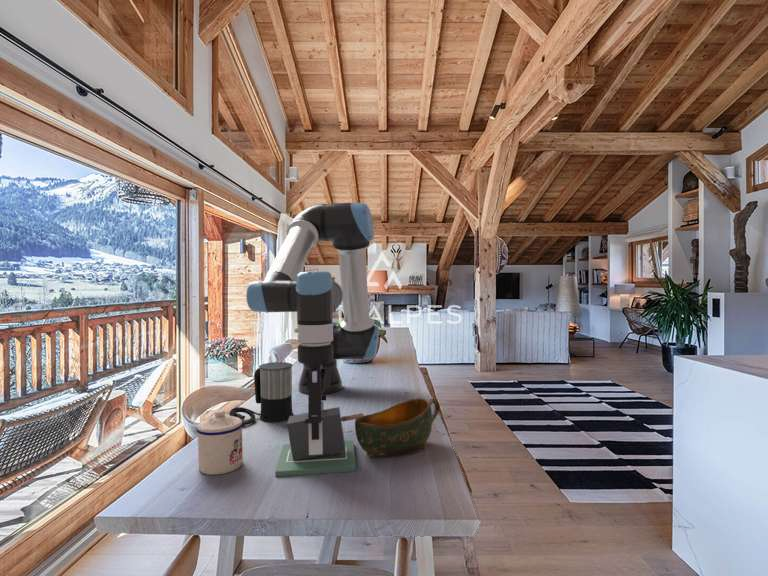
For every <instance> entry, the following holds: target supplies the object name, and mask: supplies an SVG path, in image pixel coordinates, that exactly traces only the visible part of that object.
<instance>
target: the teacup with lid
mask: <svg viewBox="0 0 768 576" xmlns="http://www.w3.org/2000/svg"><path fill="white" fill-rule="evenodd" d="M243 426H244V425H243V422H242V420H241V419H240V418H238V417H234V416H230V415H229V414H226V411H225V410H223V409H219V410H216V411H215V412H214V415H213V416H211V417H209V418H207V419H205V420H202V421H200V423H198V425H197V427H196V432H197V445H198V446H197V447H198V448H197V449H198V450H197V452H198V470H199V472H200V473H202V474H205V475H209V476H210V475H212V476H213V475H214V476H217V475H223V474H228V473H230V472H234V471H236V470H237V469H239V468H240V467H241V466H242V465H243V460H244V459H243V457H244V456H243V453H244V452H243Z"/></svg>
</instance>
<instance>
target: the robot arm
mask: <svg viewBox="0 0 768 576" xmlns="http://www.w3.org/2000/svg"><path fill="white" fill-rule="evenodd" d="M374 237H375V232H374V222H373V217H372V213H371V209H370V207H369V206H368V205H367V204H366V203H363V202H338V203H337V202H336V203H317V204H314V205H311V206H309V207H307V208H305V209H303V210H302V211H300V212H299V213H298V214H296V216H294V218H293V219H292V220H291V221H290V222H289V224H288V226H287V229H286V238H285V240H284V241H283V243H282V245H281V247H280V248H279V251H278V253H277V255H276V256H275V258H274V260H273V262H272V265H271V266H270V268H269V270H268V272H267V273H266V276H265V277H264V279H263V280H261V279H259V280H253V281H251V282H250V283H249V284H248V285H247V288H246V294H245V297H246V303H247V306H248V308H249V309H250V311H253V312H255V313H258V312H259V313H260V312H261V313H267V314H268V313H296V320H297V327H296V328H294V333H296V334H297V342H298V343H299V344H298V345H297V362H298V363H300V364H302V365H303V367H302V370H301V374H300V377H299V381H298V391H299V392H300V393H301V394H308V397H307V400H308V402H307V403H308V408H307V409H308V410H307V413H308V419H305V424H308V430H309V455H319V454H323V439H322V418H321V410H325V407H324V406H325V404H324V402H325V401H327V394H333V393H337V392H339V391H341V390H342V389H343V380H342V377H341V374H340V372H339V370H338V369H339V368H338V365H337V364H338V363H337V360H361V361H365V360H372V359H374V358H376V355H377V352H378V343H379V336H380V327H379V325H377V324H375V320H374V319H373V318H372V317H371V316H370V306H369V305H370V304H369V289H368V277H367V274H368V273H367V260H366V250H367V249H368V248H369V246H370V245H371V244H370V242H371V241H373V240H374V239H375V238H374ZM318 242H332V247H333V249H334V251H336V252H337V254H338V263H339V274H340V276H339V277H340V284H341V285H340V284H339V282H336V281H334V280H332V279H333V278H332V274H331V272H330V271H302V270H303V267H304V265H305V263H306V260H307V258H308V255H309V253H310V251H311V249H312V248H313V247H315V245H317V243H318ZM341 304H342V307H343V308H342V311H343V319H342V320H341V321H340V323H339V325H337V322H336V321H333V311H335V310H337V309H338V308H339V306H341ZM313 415H318V416H315V417H312V416H313Z"/></svg>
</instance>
